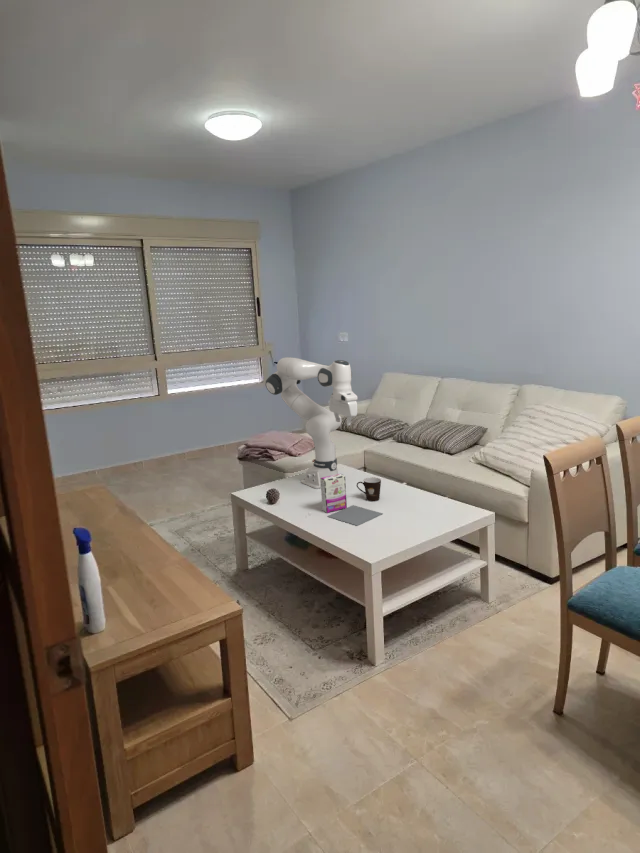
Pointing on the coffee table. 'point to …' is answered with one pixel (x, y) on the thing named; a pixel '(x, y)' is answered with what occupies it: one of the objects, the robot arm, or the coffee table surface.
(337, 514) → the mat
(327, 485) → the candy bar box
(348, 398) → the robot arm
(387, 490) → the coffee table surface
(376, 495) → the coffee mug
